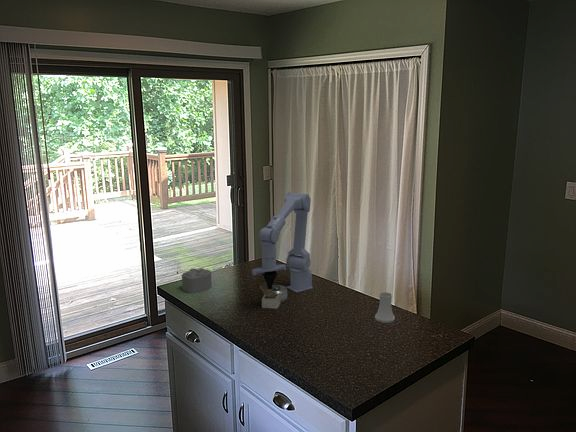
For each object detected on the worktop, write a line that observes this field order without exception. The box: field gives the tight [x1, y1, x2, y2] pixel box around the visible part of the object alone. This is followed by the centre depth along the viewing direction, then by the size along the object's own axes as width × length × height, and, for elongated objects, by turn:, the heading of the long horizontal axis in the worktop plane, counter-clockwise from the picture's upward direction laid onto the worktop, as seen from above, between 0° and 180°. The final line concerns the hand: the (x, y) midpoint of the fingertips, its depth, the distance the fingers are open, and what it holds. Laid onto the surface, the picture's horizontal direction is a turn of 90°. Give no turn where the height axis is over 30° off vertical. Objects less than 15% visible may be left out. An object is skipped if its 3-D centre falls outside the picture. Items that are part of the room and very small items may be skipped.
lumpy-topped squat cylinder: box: [181, 267, 213, 295], centre depth 217 cm, size 10×13×9 cm
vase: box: [374, 292, 396, 324], centre depth 182 cm, size 8×8×10 cm
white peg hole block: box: [261, 284, 288, 309], centre depth 201 cm, size 16×10×5 cm, turn 168°
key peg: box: [259, 281, 276, 298], centre depth 196 cm, size 3×3×8 cm
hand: (269, 288), depth 195 cm, fingers closed, pressing on key peg
